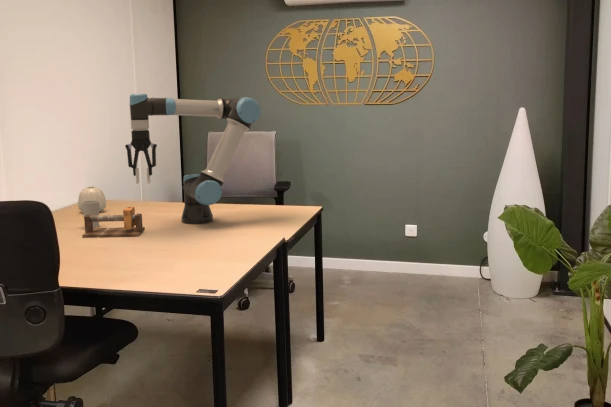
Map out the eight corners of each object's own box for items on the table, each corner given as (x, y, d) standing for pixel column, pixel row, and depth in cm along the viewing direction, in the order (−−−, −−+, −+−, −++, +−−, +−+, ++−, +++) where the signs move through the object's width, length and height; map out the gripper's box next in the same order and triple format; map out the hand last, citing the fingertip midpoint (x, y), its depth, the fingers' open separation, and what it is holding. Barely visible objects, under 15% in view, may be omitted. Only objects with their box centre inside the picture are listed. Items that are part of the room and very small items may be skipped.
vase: (77, 215, 312) (75, 189, 310) (80, 210, 326) (78, 185, 323) (105, 214, 315) (103, 188, 313) (107, 209, 329) (106, 184, 326)
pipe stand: (144, 229, 278) (143, 211, 277) (138, 236, 265) (137, 217, 263) (91, 230, 277) (90, 212, 275) (82, 237, 263) (80, 218, 262)
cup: (95, 229, 280) (93, 203, 278) (79, 228, 282) (77, 203, 280) (104, 225, 288) (102, 200, 286) (89, 224, 289) (87, 200, 287)
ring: (135, 225, 275) (134, 206, 273) (131, 229, 267) (130, 210, 265) (128, 225, 275) (127, 206, 273) (124, 229, 266) (123, 210, 265)
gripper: (161, 128, 267) (164, 181, 272) (122, 129, 266) (125, 182, 271) (158, 130, 260) (161, 183, 264) (118, 130, 259) (121, 184, 263)
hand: (143, 182), depth 267 cm, fingers open, 4 cm apart
